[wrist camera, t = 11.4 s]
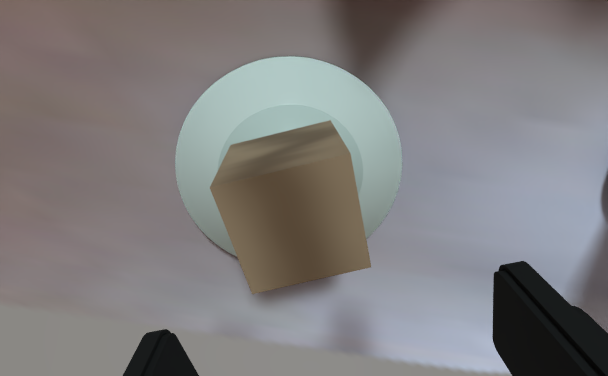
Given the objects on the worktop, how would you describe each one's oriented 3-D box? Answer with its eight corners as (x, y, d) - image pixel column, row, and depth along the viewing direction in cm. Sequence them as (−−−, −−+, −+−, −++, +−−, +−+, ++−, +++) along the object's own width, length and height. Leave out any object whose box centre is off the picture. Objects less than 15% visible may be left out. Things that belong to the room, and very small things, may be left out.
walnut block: (330, 119, 19) (350, 153, 13) (348, 208, 21) (371, 267, 16) (230, 144, 19) (209, 187, 13) (259, 229, 21) (252, 294, 16)
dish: (381, 27, 18) (388, 26, 17) (405, 233, 24) (412, 243, 23) (142, 90, 18) (133, 93, 17) (224, 275, 24) (221, 287, 23)
